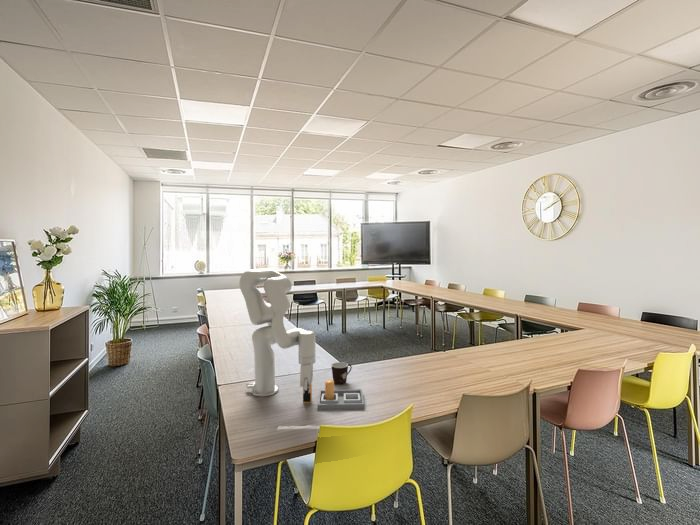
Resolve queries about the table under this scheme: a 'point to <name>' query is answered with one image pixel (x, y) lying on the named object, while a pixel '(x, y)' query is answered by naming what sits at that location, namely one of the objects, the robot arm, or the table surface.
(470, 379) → the table surface
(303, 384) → the pin
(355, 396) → the grey pin holder tray
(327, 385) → the pin
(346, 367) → the coffee mug
